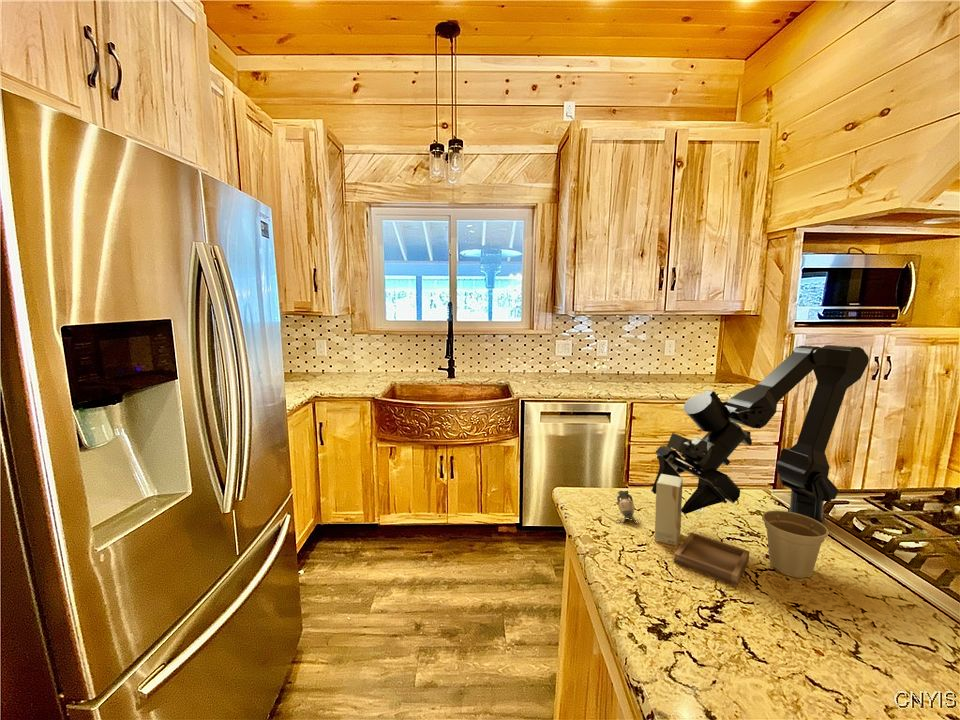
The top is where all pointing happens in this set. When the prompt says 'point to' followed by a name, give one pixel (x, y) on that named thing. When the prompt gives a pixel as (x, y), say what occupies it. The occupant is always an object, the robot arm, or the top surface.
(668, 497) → the skincare box
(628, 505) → the vase
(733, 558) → the walnut tray
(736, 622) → the top surface
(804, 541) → the flower pot
